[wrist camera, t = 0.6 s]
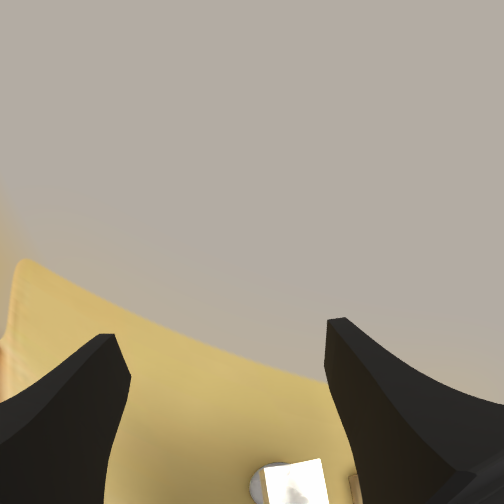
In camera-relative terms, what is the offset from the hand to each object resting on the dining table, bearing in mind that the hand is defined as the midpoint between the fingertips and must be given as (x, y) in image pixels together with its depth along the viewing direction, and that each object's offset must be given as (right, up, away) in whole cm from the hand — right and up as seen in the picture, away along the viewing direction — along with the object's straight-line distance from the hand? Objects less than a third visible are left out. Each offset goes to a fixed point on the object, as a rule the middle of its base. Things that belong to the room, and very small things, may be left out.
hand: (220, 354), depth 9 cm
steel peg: (+3, -15, +9) cm, 18 cm away
